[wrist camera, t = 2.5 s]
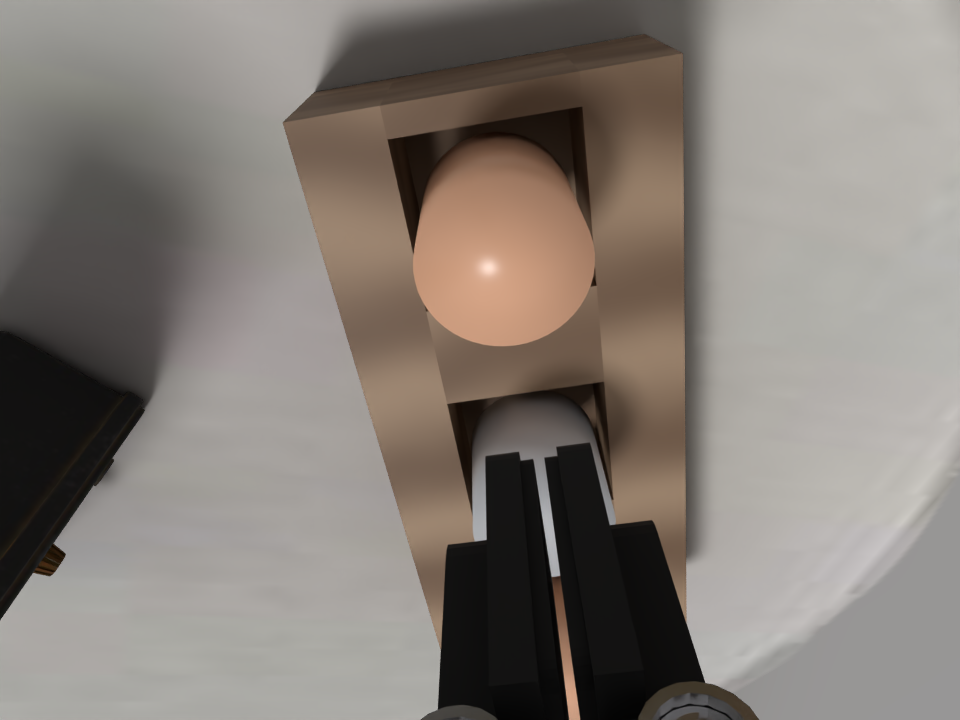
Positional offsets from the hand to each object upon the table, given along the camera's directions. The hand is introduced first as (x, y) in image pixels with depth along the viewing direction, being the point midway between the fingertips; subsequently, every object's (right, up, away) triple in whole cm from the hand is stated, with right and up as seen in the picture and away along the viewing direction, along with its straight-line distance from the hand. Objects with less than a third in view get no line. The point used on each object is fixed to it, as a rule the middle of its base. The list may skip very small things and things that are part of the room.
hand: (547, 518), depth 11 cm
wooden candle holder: (+1, +1, +21) cm, 21 cm away
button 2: (0, +8, +12) cm, 14 cm away
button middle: (+1, -1, +17) cm, 17 cm away
